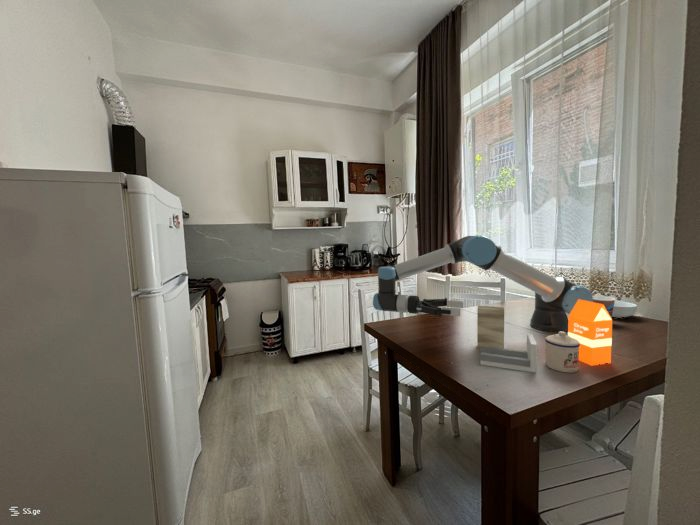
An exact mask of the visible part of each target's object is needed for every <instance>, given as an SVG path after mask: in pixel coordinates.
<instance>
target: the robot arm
mask: <svg viewBox="0 0 700 525" xmlns="http://www.w3.org/2000/svg"><path fill="white" fill-rule="evenodd" d="M463 262H466V263H470V264H472V265H475V266H476V267H477V268H480V269H482V270H484V271H490V270H491V271H494V272H496V273H497V274H499V275H502V276H503V277H505V278H507V279H509V280H510V281H513V282H515V283H516V284H518V285H521V286H523V287H524V288H526V289H527V290H531V291H532V292H533V293H534V311H533V313H532V316H531V318H530V322H529V325H530V326H531V327H532V328H534V329H537V330H541V331H546V332H554V333H559V332H560V331H563V332H564V331H565V332H568V318H569V317H568V316H567V314H568V315H569V314H570V313H571V311H572V309H573V308H574V306H575V304H576V303H577V301H578V299H580V300H585V301H590V302H593V298H592V296H593V294H592V293H593V292H591V291H590V289H588V288H586V287H585V286H583V285H578V284H575V283H573V282H571V281H569V280H567V278H566V277H561V276H556V277H553V276H551V275H550V274H547V273H545V272H543V271H542V270H539V269H538V268H535V267H533V266H532V265H531V264H528V263H526V262H524V261H522V260H521V259H518V258H517V257H514V256H513V255H510V254H508V253H506V252H505V251H503V249H502V246H501V245H499V244H497V243H495V242H494V241H493V240H492V239H491V238H490V237H487V236H485V235H481V234H480V235H478V234H476V235H466V236H464V237H461V238H459V239H457V240H455V241H453V242H450V243H447V244H446V245H445V246H444V247H442V248H439V249H435V250H433V251H431V252H428V253H425V254H423V255H420V256H417V257H414V258H411V259H408V260H406V261H402V262H399V263H396V264H394V265H391V266H380V267H378V268H377V280H378V281H377V287H378V292H376V293H375V294H374V295H373V297H372V298H373V299H372V306H373V308H374V309H375V310H377V311H383V312H395V313H400V314H403V315H404V313H406V314H407V313H408V314H416V315H417V314H418V313H422V314H423V313H424V314H428V315H431V316H432V315H433V316H437V317H439V318H442V316H452V317H461V309H464V303H465V302H464V301H463V300H451V299H450V300H449V299H448V298H447V297H445V298H432V299H431V298H428V299H427V298H423V300H420V297H419V296H418V295H411V294H410V295H409V294H397V293H396V283H397V281H400V280H403V279H406V278H410V277H412V276H414V275H415V276H416V275H419V274H421V273H424V272H427V271H430V270H432V269H436V268H439V267H441V266H444V265H448V264H450V263H451V264H453V265H454V264H457V263H463Z"/></svg>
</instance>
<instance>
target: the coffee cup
mask: <svg viewBox="0 0 700 525" xmlns="http://www.w3.org/2000/svg"><path fill="white" fill-rule="evenodd" d="M592 298H593V302H594V303H599V304H603V305H604V307H605V308H606V310H607V312H608V313H609V315H610V317H611V319H613V318H612V313H613V308H614V302H615V301H617V300H616V298H615V297H613V296H612V297H611V296H605V295H592Z"/></svg>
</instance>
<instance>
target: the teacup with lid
mask: <svg viewBox="0 0 700 525" xmlns="http://www.w3.org/2000/svg"><path fill="white" fill-rule="evenodd" d="M544 341H545V365H546V366H547V368H549V369H551V370H553V371H557V372H561V373H569V374H570V373H571V374H572V373H576V372H578V370H579V364H580V363H579V362H580V360H579V346H580V343H579V341H578V340H576V339H574V338H571V337H570V336H568V334H567V331H565V332H563V331H560V332H558V333H555V334H551V335H547V336H546V337H545V338H544Z"/></svg>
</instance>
